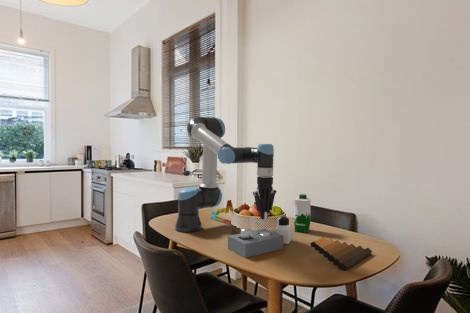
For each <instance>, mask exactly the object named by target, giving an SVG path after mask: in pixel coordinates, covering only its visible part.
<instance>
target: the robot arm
mask: <svg viewBox="0 0 470 313" xmlns="http://www.w3.org/2000/svg"><path fill="white" fill-rule="evenodd" d="M186 131H187V134H188V135H189V136H190V137H191V138H192V139H194V140H198V141H199V142H200V143H202V144H203V146H202V148H203V149H202V169H201V171H202V173H201V183H200V184H199V186H197V187H196V186H191V187H185V188H181V189H180V190H179V191H178V193H177V218H176V221H175V224H174V225H175V226H174V230H175V231H176V232H181V233H192V232H197V231H201V230H202V226H203V225H202V222H201V219H200V216H199V213H200V212H199V210H201V209H209V208H211V209H212V208H214V207H218V206H219V205H220V204H221V203H222V199H223V192H222V190H221V189H220V187H219V185H218V183H217V172H218V161H219V163H221V164H224V165H225V164H226V165H230V164H246V163H247V164H248V163H249V164H250V163H253V164H257V167H256V168H257V170H256V175H257V177H256V184H257V188H256V190H255V191H252V195H253V197H254V202H255V207H256V211H257V212H259V214H260V216H259V217H260V224H261V226H262V227H267V226H268V219H269V213H270V212H271V211H272V210H273V207H274V206H273V205H274V200H275V196H276V194H277V190H276V189H274V188H273V185H274V177H273V176H274V155H275V154H274V153H275V151H274V145H273V144H272V143H258V144H257V147H252V146H251V147H250V146H245V147H234V146H232V145H231V144H230V143H228V142H227V141H225V140H224V139H223V137H224V135H225V134H226V125H225V123H224V122H223V120H222V119H221V118H218V117H215V116H214V117H213V116H212V117H207V116H195V117H192V118H191V119H190V120H189V121H188V123H187V125H186Z"/></svg>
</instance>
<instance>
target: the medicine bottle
mask: <svg viewBox="0 0 470 313" xmlns="http://www.w3.org/2000/svg"><path fill="white" fill-rule="evenodd" d="M274 232H275V233H278V234H280V235H283V236H284V237H283V245H284V244H285V245H286V244H287V245H289V244H290V242H291V240H292V226H291V225H290V219H289V218H288V217H287V216H279V217H277V218H276V227H274Z"/></svg>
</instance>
